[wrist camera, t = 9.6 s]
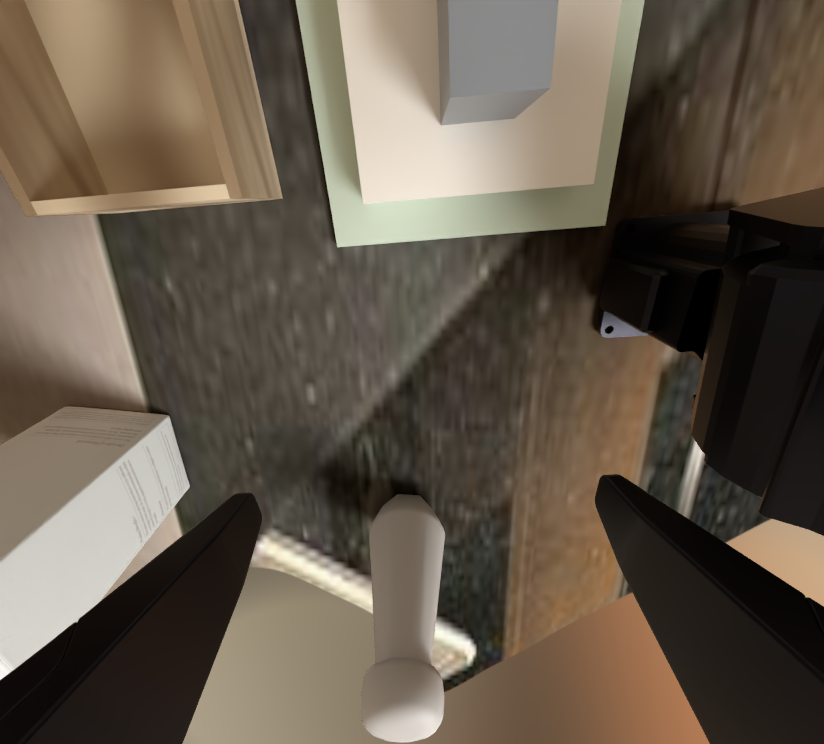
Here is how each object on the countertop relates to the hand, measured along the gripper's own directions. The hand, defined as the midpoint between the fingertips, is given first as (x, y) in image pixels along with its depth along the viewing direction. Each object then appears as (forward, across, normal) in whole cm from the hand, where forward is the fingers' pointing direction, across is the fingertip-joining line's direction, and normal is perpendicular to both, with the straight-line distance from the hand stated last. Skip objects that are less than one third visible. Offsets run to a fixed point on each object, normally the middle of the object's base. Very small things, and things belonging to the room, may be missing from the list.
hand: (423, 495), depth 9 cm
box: (+13, +11, -12) cm, 21 cm away
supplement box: (+13, +22, +8) cm, 27 cm away
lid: (+13, -3, -12) cm, 18 cm away
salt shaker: (+13, +2, +16) cm, 21 cm away
